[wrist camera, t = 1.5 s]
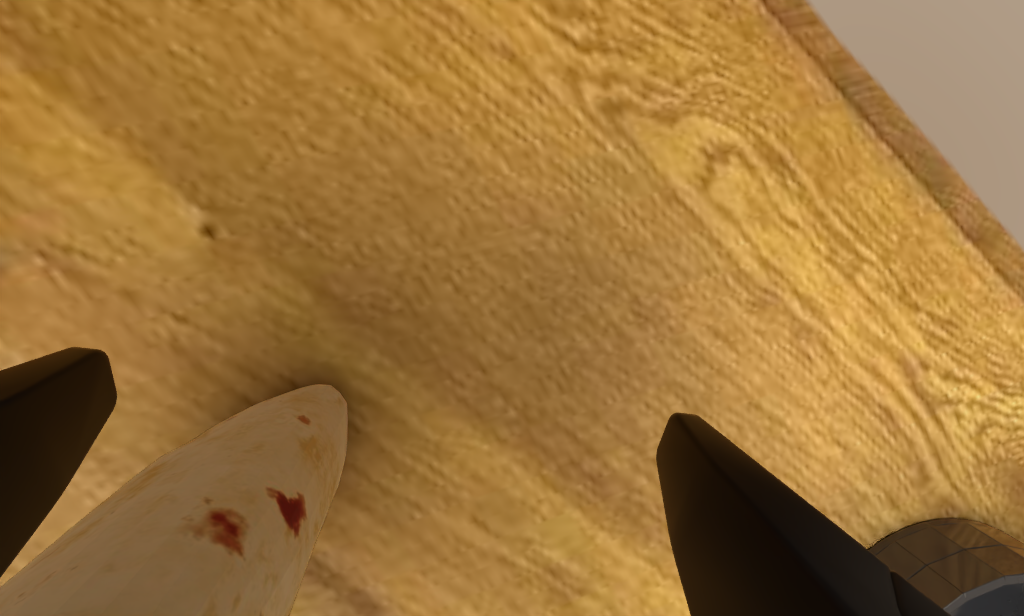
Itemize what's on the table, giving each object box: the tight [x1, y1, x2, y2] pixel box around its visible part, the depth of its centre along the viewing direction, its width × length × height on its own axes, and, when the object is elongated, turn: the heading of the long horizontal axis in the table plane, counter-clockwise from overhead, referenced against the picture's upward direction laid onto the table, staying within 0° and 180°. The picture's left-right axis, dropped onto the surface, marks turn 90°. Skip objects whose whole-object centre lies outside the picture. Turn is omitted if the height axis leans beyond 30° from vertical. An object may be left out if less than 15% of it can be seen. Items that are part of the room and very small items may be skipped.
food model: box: [0, 384, 348, 616], centre depth 15 cm, size 10×7×20 cm
